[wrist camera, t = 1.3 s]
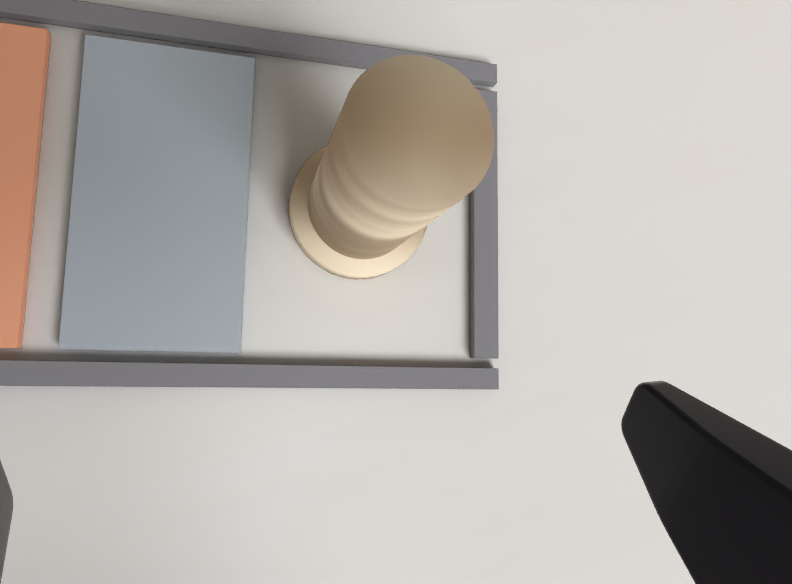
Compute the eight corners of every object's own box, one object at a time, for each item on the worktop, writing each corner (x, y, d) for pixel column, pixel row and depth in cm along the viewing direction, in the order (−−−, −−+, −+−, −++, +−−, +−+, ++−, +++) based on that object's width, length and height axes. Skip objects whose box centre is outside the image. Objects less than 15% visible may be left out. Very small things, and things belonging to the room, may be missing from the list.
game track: (494, 388, 24) (498, 389, 23) (-506, 381, 16) (-525, 381, 16) (492, 68, 26) (496, 64, 25) (-416, -67, 18) (-430, -77, 18)
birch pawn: (420, 282, 24) (516, 239, 15) (286, 275, 22) (314, 224, 14) (421, 154, 24) (514, 48, 16) (291, 140, 23) (320, 17, 15)
